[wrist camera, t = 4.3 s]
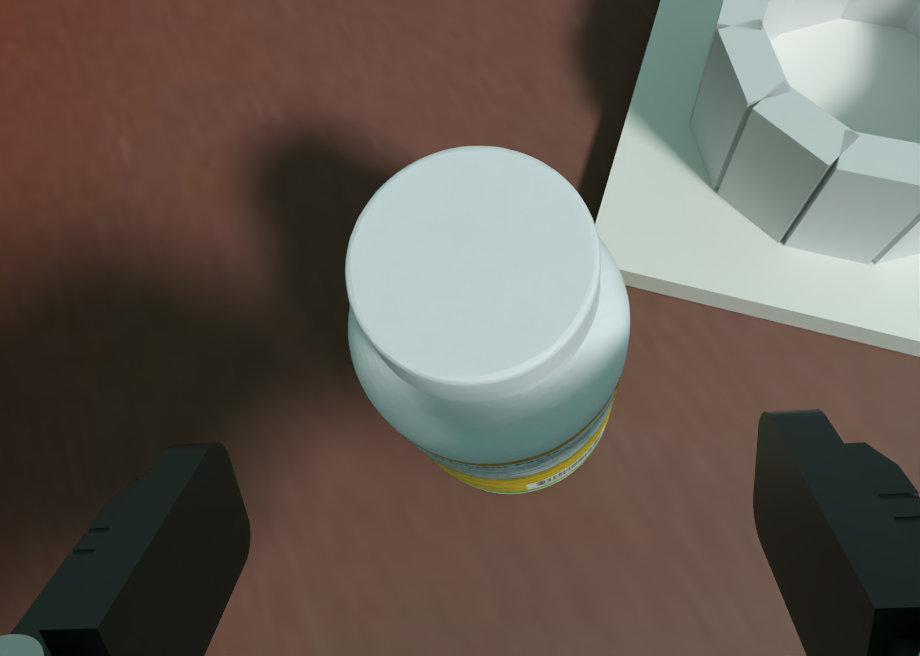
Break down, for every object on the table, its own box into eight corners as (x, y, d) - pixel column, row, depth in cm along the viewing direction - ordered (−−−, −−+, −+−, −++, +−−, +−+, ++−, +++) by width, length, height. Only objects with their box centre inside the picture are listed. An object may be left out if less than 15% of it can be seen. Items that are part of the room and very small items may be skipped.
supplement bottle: (436, 291, 22) (346, 87, 13) (623, 321, 21) (672, 123, 12) (393, 474, 20) (255, 395, 11) (591, 515, 19) (620, 466, 10)
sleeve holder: (583, 274, 21) (589, 190, 17) (679, -54, 24) (707, -204, 20) (1049, 388, 19) (1213, 326, 14) (1089, 5, 22) (1235, -151, 17)
